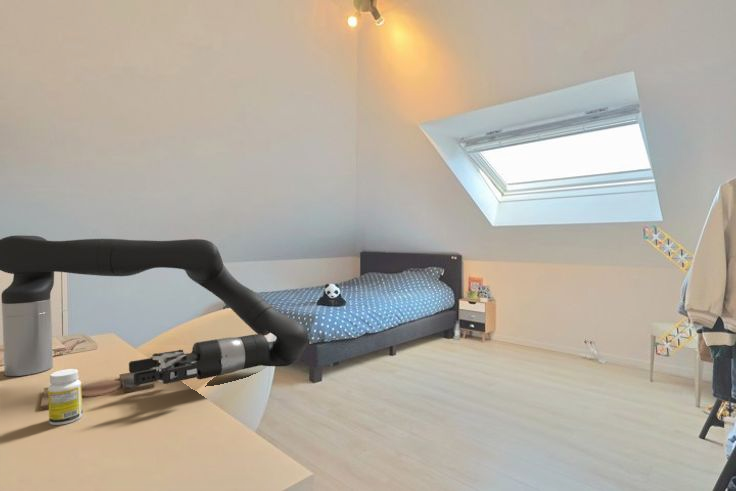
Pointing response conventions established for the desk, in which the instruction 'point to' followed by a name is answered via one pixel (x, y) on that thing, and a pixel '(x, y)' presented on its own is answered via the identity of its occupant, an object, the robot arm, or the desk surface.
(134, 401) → the desk surface
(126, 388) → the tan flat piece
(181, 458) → the desk surface
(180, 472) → the desk surface
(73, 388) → the supplement bottle
